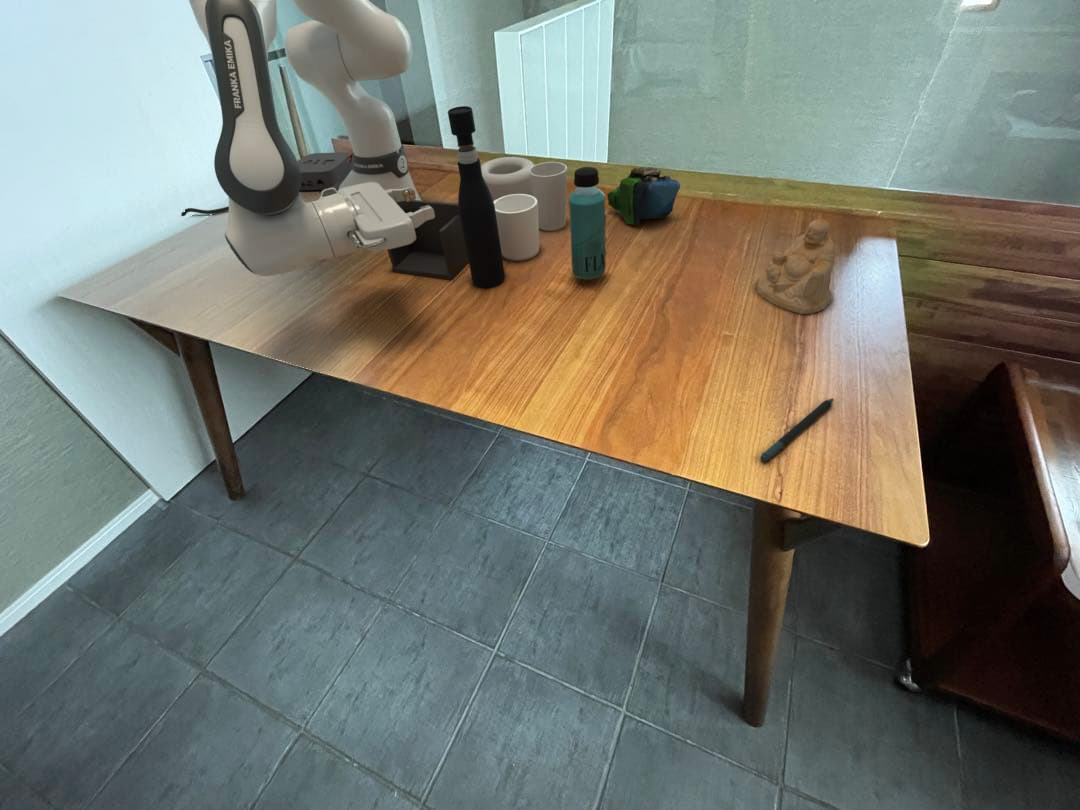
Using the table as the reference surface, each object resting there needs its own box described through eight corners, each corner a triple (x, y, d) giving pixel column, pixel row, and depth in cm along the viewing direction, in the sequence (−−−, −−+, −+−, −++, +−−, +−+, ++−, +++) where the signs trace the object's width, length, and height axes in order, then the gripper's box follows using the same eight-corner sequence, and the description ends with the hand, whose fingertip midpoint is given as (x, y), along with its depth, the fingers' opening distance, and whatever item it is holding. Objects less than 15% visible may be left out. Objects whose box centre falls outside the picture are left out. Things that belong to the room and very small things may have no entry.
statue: (879, 231, 82) (846, 233, 77) (836, 313, 90) (804, 320, 85) (811, 208, 90) (777, 208, 85) (777, 285, 98) (744, 290, 92)
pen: (835, 404, 71) (838, 397, 70) (765, 464, 65) (767, 458, 64) (828, 400, 72) (830, 393, 71) (758, 459, 66) (760, 453, 65)
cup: (570, 215, 120) (568, 161, 112) (568, 231, 114) (565, 175, 106) (536, 216, 121) (531, 163, 113) (532, 232, 115) (526, 177, 107)
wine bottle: (492, 291, 99) (463, 117, 79) (466, 283, 102) (430, 114, 81) (511, 274, 103) (488, 105, 82) (485, 268, 106) (456, 102, 85)
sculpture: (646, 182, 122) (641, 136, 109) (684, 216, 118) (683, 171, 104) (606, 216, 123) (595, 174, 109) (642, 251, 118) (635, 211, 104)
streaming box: (359, 170, 153) (353, 152, 150) (336, 191, 143) (329, 171, 140) (314, 171, 156) (308, 153, 152) (289, 191, 146) (281, 172, 142)
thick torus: (527, 207, 125) (524, 179, 120) (469, 204, 129) (464, 177, 124) (545, 182, 135) (542, 155, 131) (490, 180, 139) (486, 154, 134)
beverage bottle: (583, 290, 97) (579, 181, 83) (565, 275, 101) (559, 169, 87) (612, 280, 99) (614, 170, 85) (594, 265, 103) (592, 159, 89)
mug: (550, 248, 109) (546, 200, 102) (520, 266, 105) (514, 217, 98) (513, 235, 115) (507, 188, 108) (483, 252, 111) (475, 204, 104)
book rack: (392, 271, 108) (375, 215, 100) (412, 253, 113) (397, 198, 105) (452, 280, 104) (438, 222, 95) (470, 260, 109) (459, 203, 100)
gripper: (350, 229, 75) (440, 203, 79) (321, 186, 88) (399, 165, 92) (364, 269, 79) (449, 242, 83) (334, 222, 92) (409, 200, 96)
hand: (423, 201), depth 88 cm, fingers open, 8 cm apart
